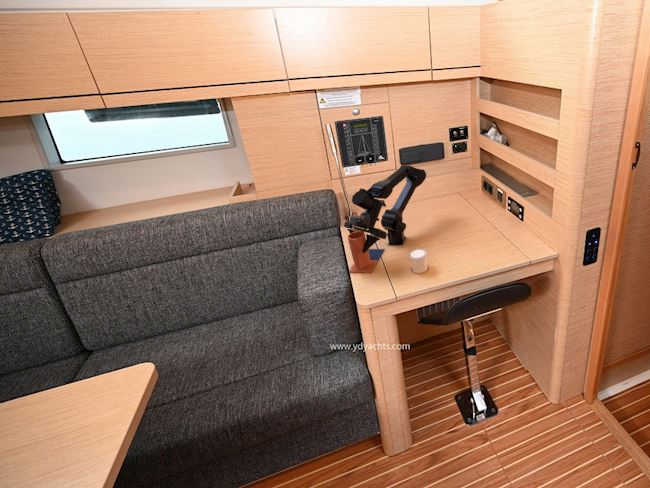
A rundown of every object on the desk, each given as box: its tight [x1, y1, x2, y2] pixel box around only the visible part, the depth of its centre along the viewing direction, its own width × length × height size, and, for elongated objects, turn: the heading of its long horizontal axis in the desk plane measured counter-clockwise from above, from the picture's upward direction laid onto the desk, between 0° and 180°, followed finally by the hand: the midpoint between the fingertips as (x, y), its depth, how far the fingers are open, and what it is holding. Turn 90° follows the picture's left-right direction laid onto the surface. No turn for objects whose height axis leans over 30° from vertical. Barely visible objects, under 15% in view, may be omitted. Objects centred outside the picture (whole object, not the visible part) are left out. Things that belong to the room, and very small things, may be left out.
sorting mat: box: [349, 248, 385, 274], centre depth 138 cm, size 9×16×1 cm, turn 172°
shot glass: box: [408, 248, 428, 274], centre depth 128 cm, size 7×7×7 cm
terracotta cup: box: [347, 231, 371, 268], centre depth 131 cm, size 6×6×13 cm
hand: (356, 250), depth 130 cm, fingers closed on terracotta cup, 6 cm apart
